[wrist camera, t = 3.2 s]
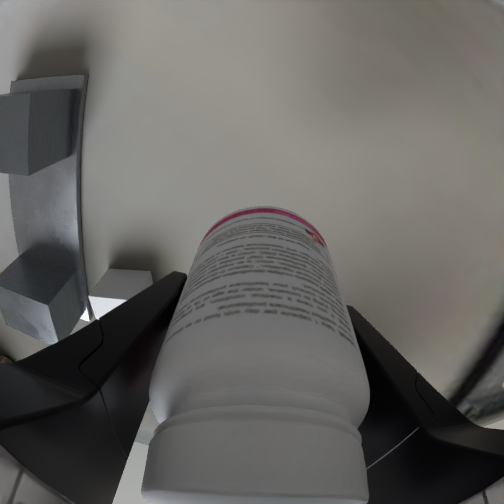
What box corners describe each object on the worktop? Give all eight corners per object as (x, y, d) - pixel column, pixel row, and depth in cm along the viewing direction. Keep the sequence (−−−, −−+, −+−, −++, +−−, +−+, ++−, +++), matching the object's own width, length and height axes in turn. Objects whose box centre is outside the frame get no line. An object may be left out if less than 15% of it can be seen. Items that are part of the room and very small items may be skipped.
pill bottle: (173, 237, 11) (62, 465, 3) (297, 179, 9) (378, 453, 2) (236, 328, 13) (213, 530, 5) (344, 289, 11) (401, 507, 4)
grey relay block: (162, 325, 26) (150, 357, 23) (124, 321, 26) (109, 350, 23) (151, 270, 23) (134, 300, 20) (109, 267, 24) (88, 295, 20)
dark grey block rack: (91, 317, 26) (67, 357, 21) (32, 297, 26) (5, 330, 21) (88, 74, 16) (38, 75, 11) (15, 80, 15) (-33, 88, 10)
